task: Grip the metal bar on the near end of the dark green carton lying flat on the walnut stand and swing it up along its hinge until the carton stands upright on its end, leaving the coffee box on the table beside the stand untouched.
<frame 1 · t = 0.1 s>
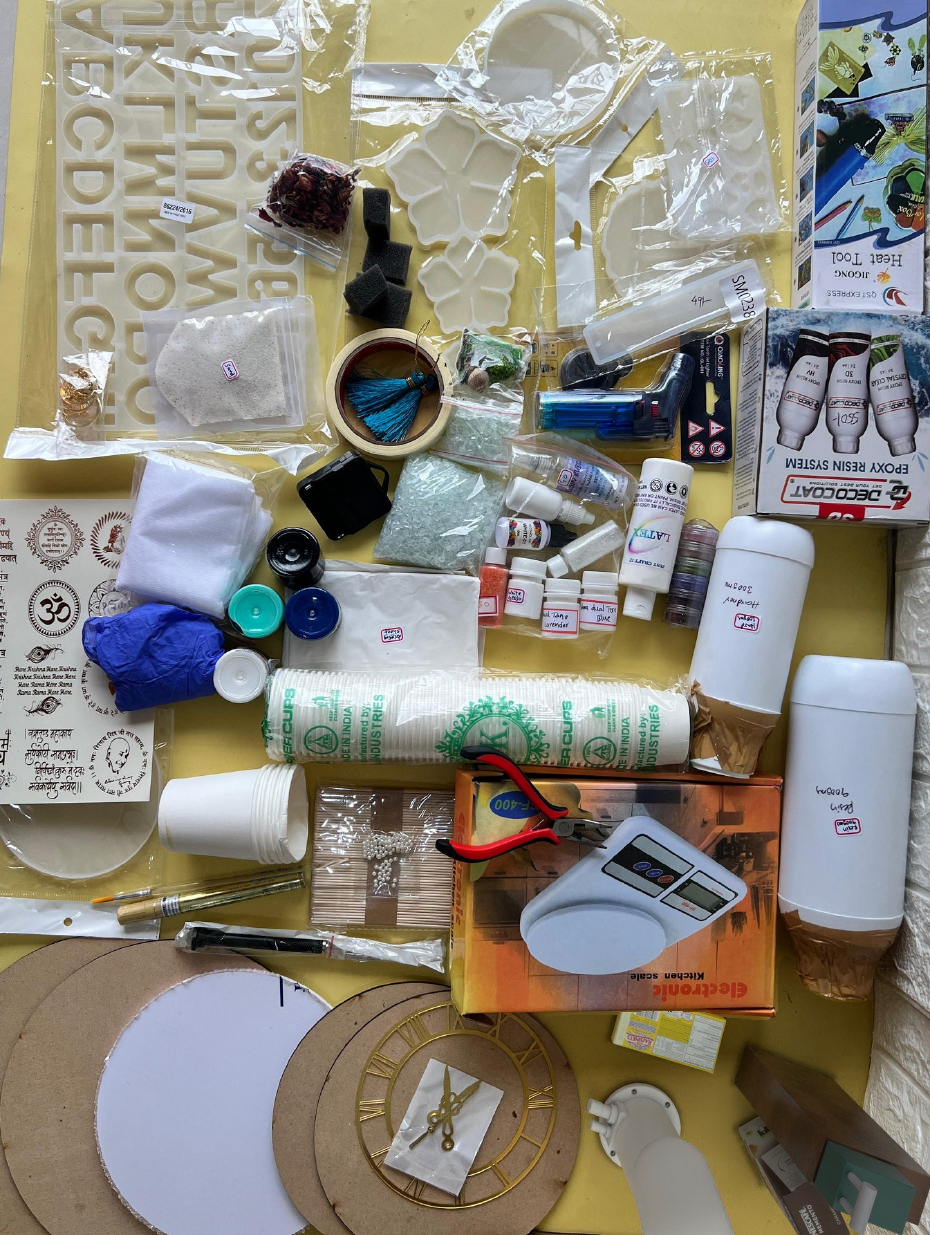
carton: (874, 1198, 93), point 30 cm above the table, hinge at 0.0°
stand: (783, 1080, 123), on the table
coffee box: (766, 1145, 122), on the table
candy box: (660, 1057, 122), point 1 cm above the table
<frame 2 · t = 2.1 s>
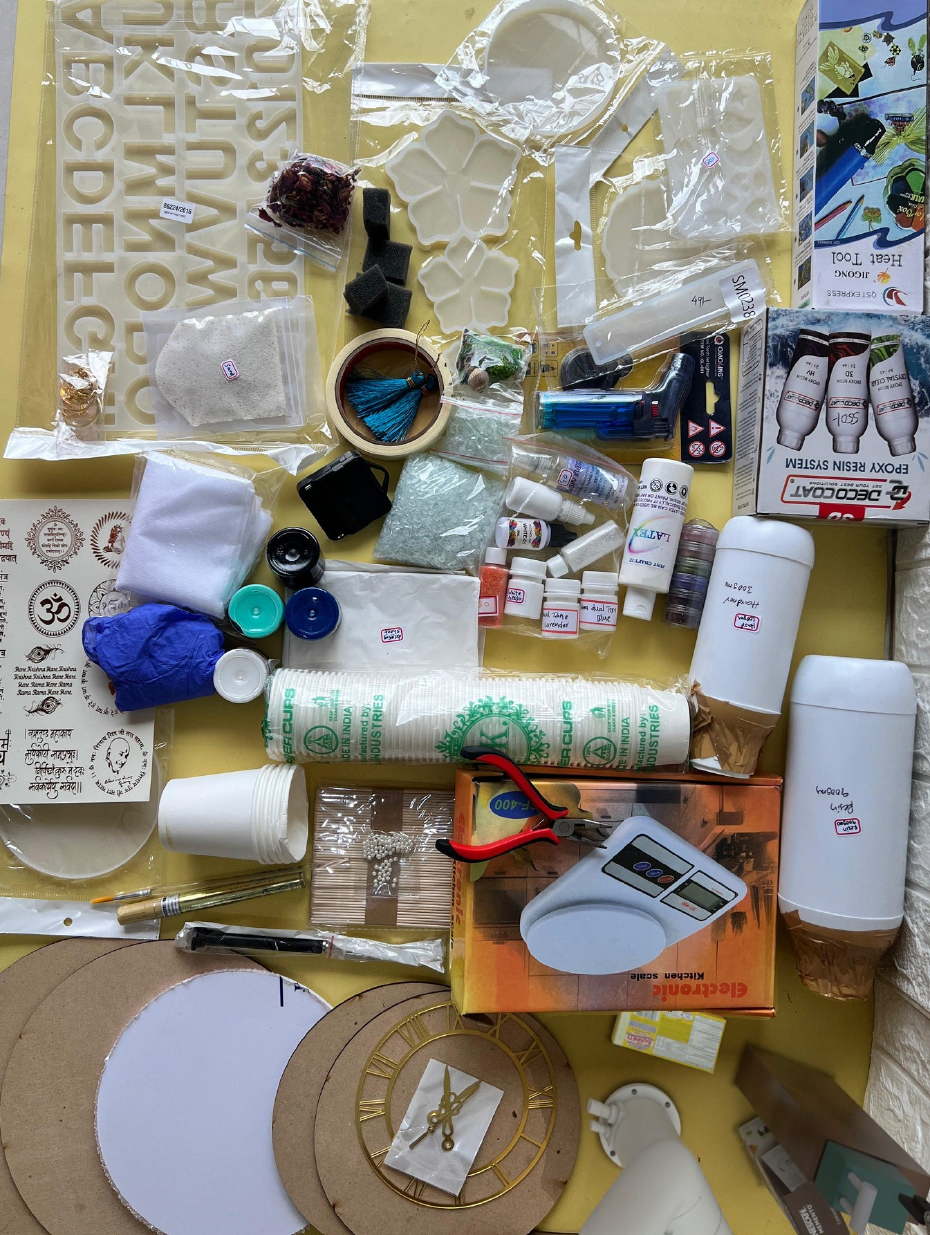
nothing on the table moved.
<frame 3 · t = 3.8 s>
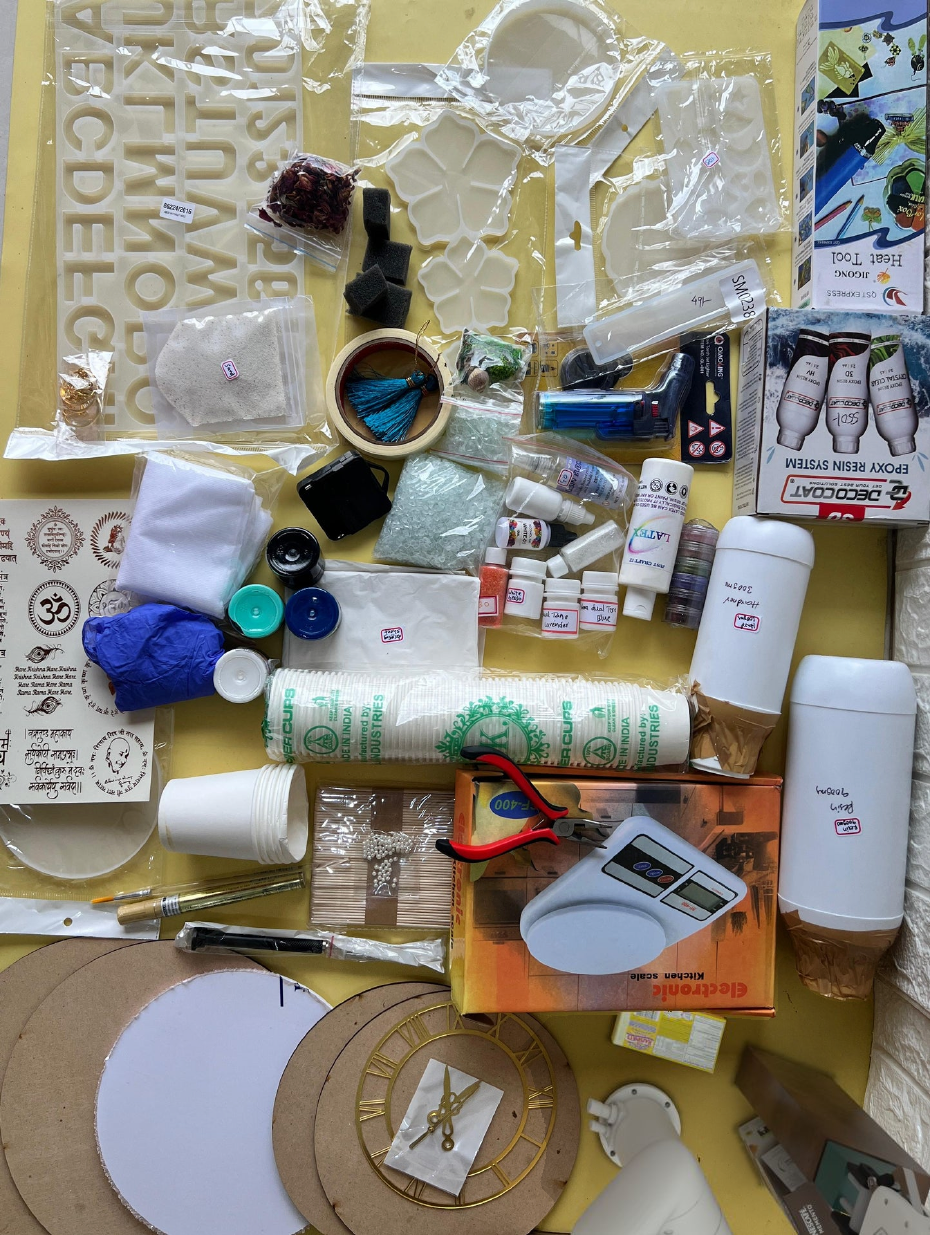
hand: (851, 1193, 92), 31 cm above the table, tool pointing down, fingers closed on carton, 5 cm apart
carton: (873, 1198, 93), point 30 cm above the table, hinge at 0.0°, touching gripper
everything else where it was.
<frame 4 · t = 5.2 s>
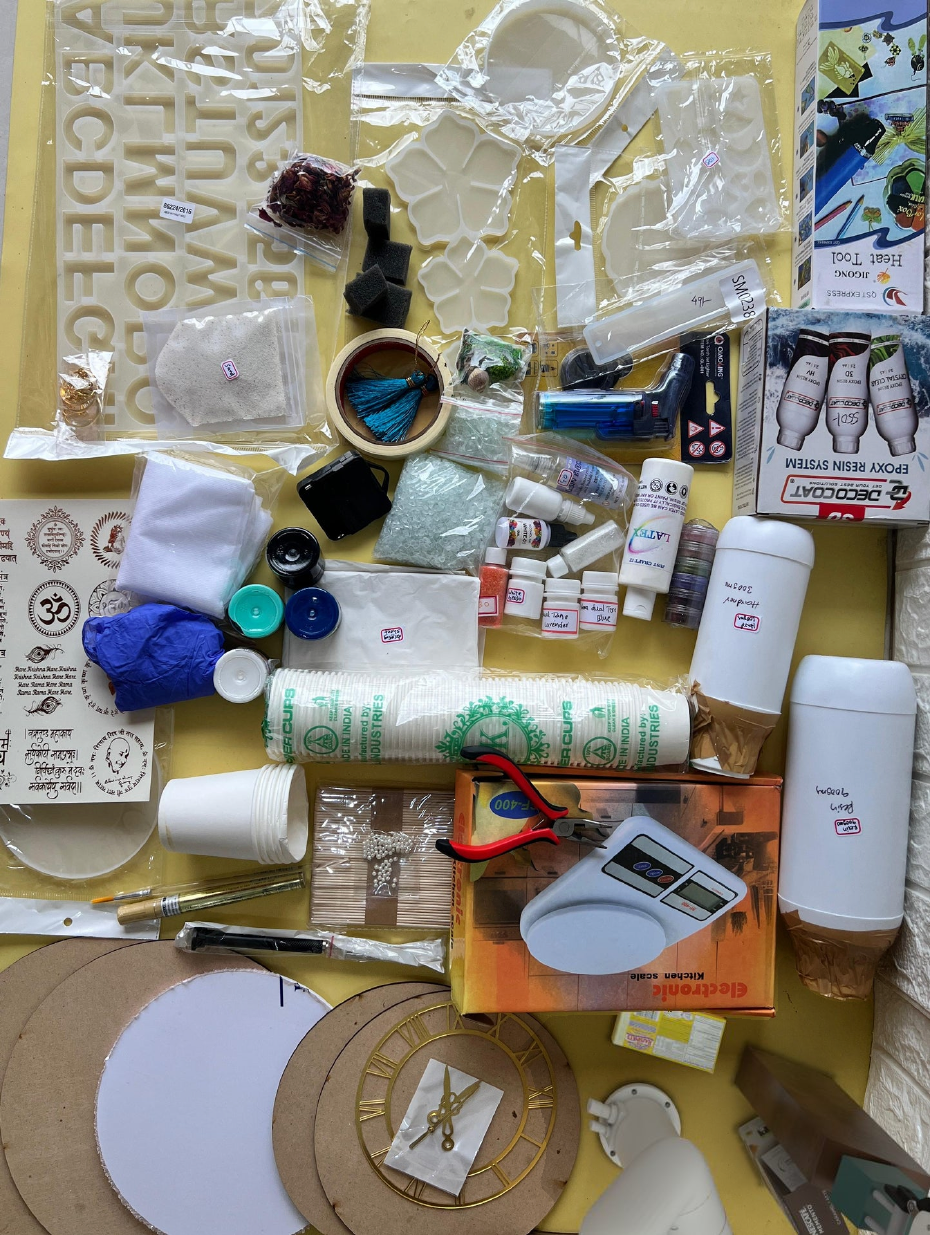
hand: (889, 1216, 90), 33 cm above the table, tool pointing down, fingers closed on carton, 5 cm apart
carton: (892, 1210, 92), point 31 cm above the table, hinge at 17.1°, touching gripper
everything else where it was.
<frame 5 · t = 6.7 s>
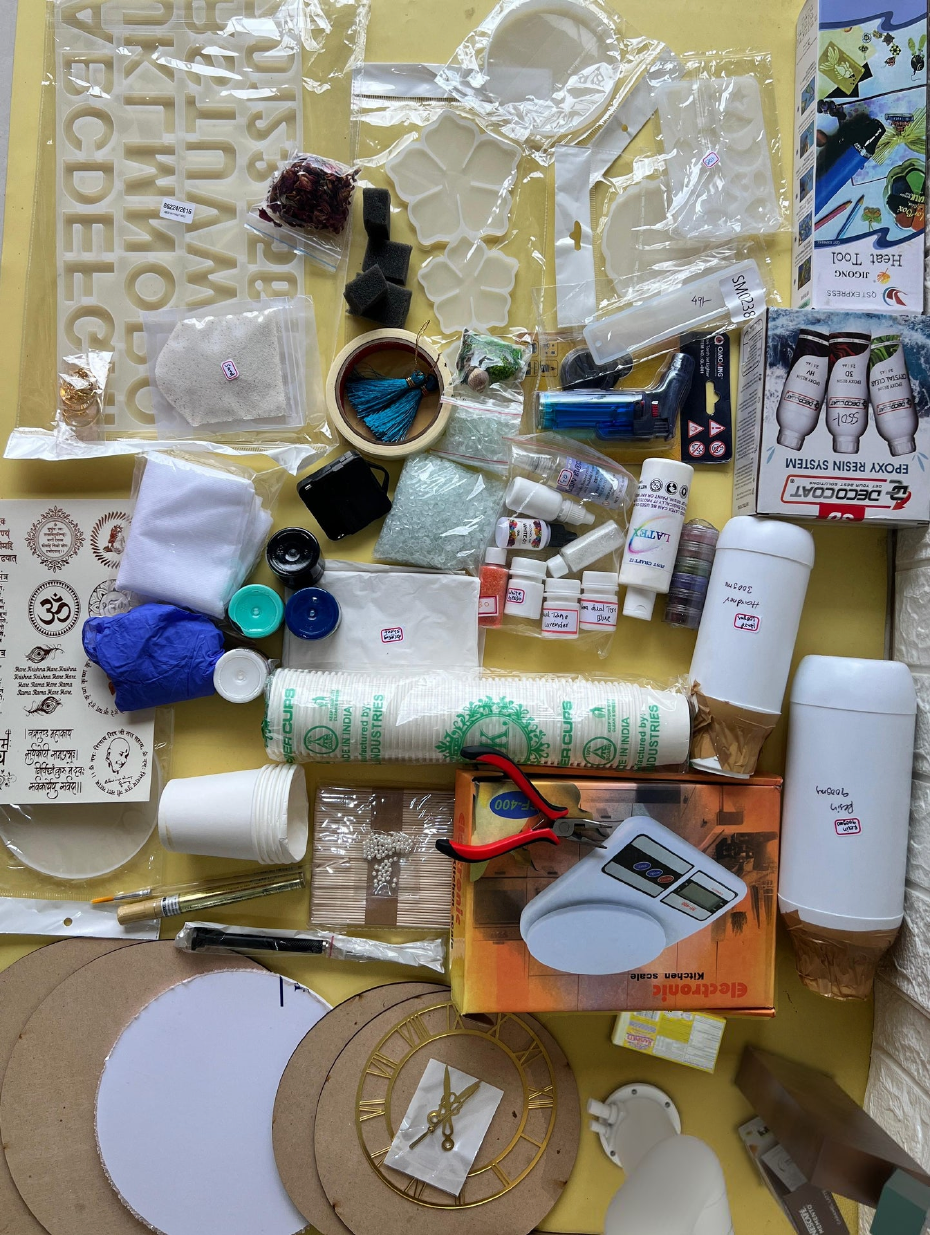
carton: (924, 1225, 91), point 32 cm above the table, hinge at 48.3°, touching gripper
everything else where it was.
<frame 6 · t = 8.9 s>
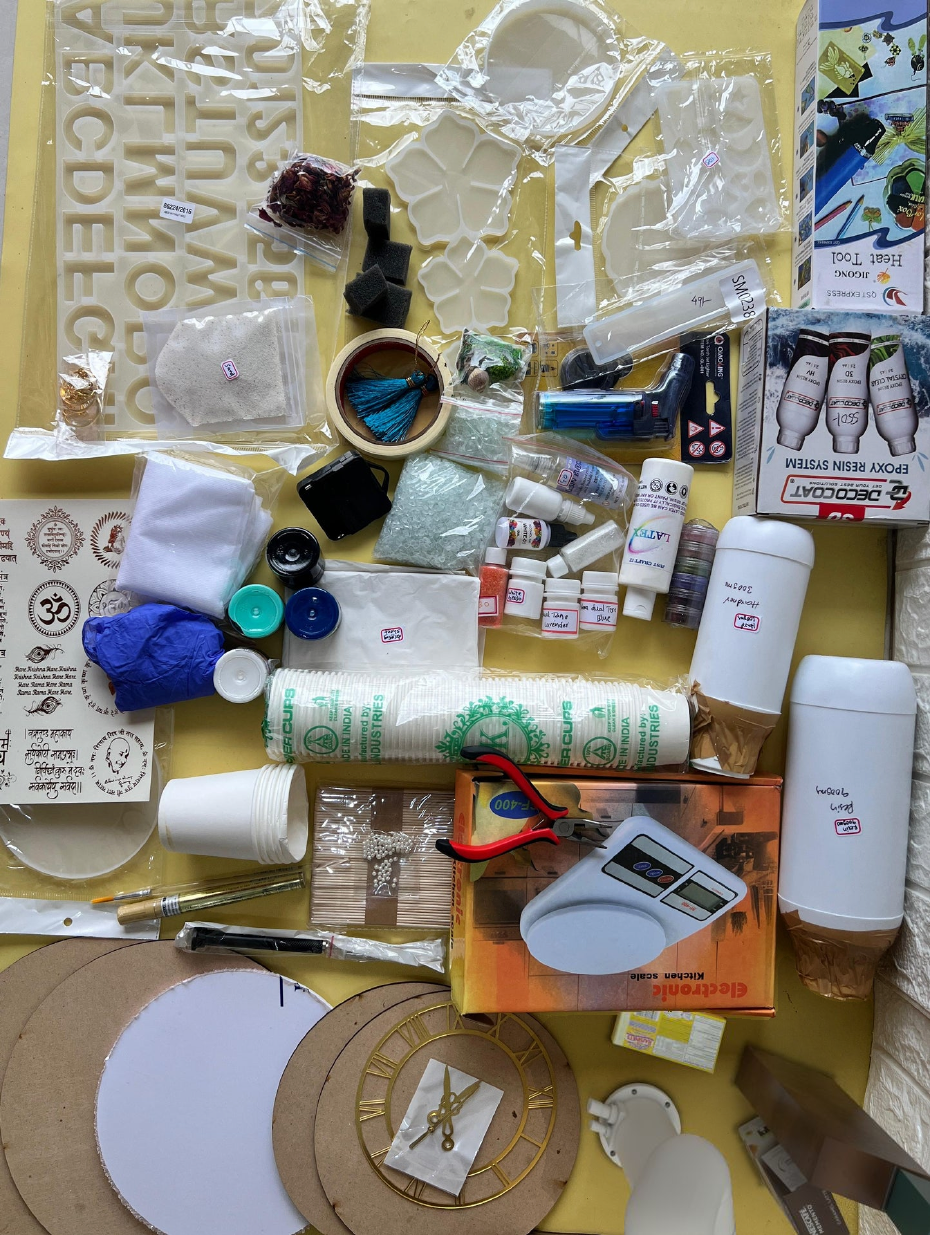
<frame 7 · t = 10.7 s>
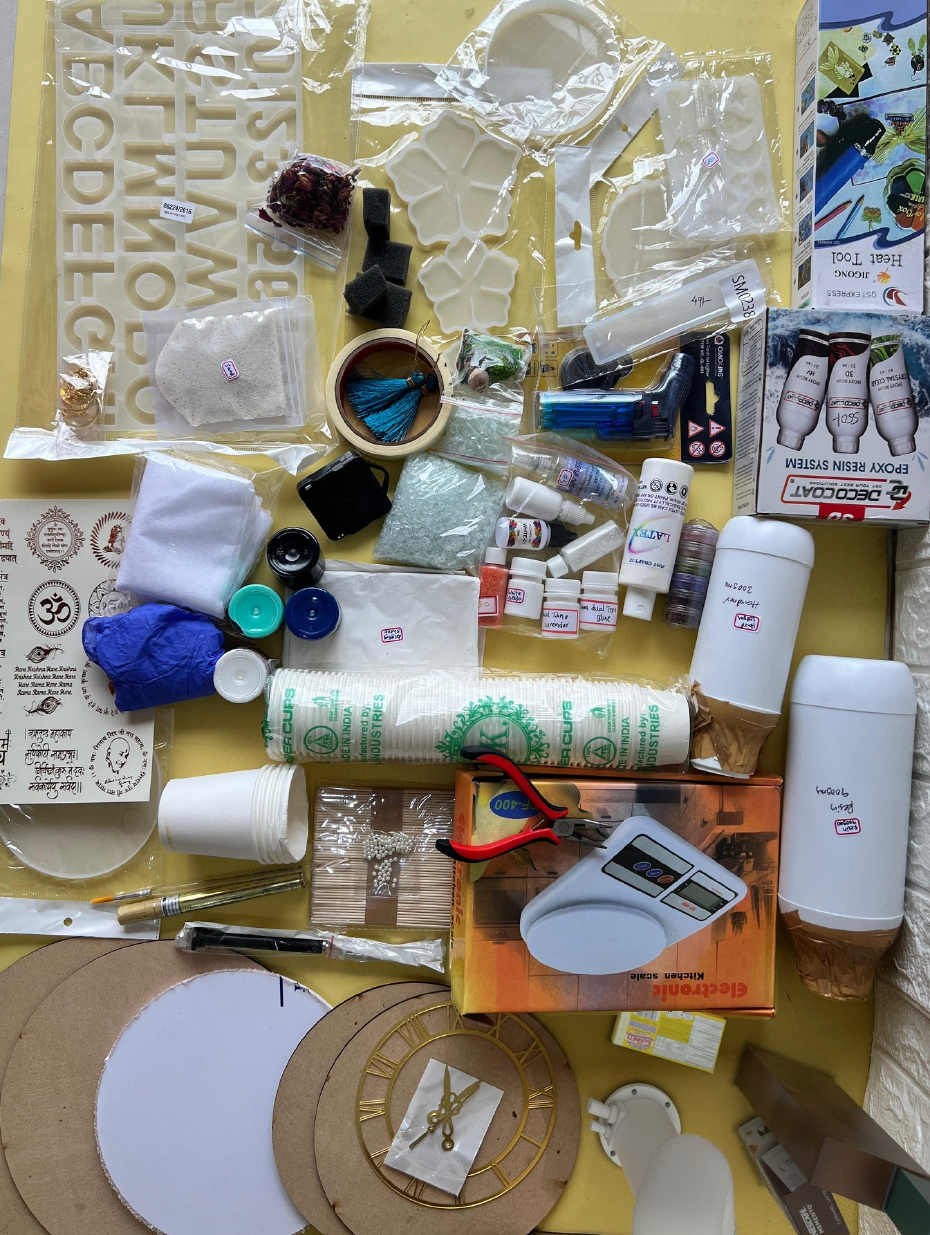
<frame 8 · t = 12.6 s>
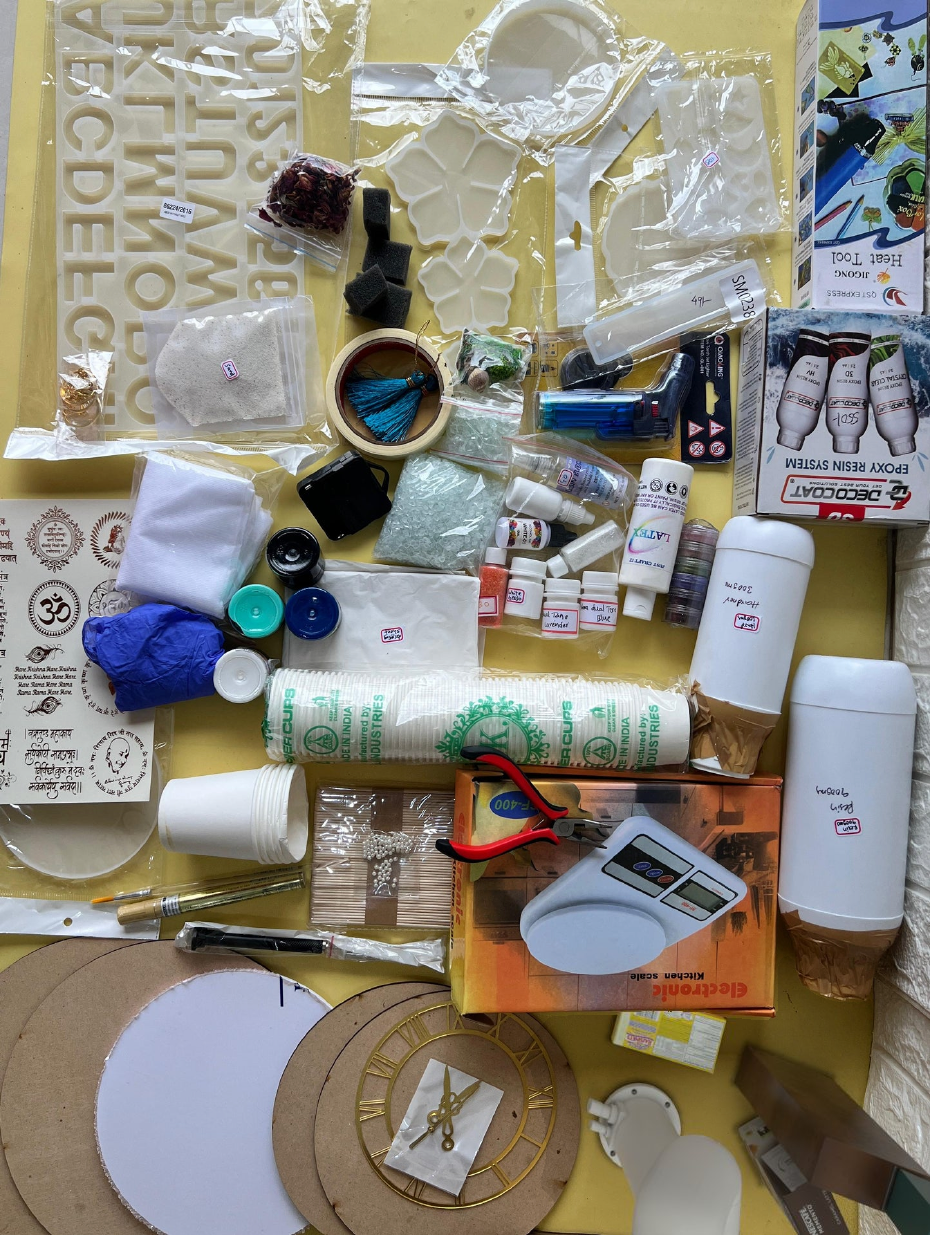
at the end: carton at +82° (first picture: +0°); the gripper is holding nothing; coffee box moved 0.2 cm from its start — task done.
